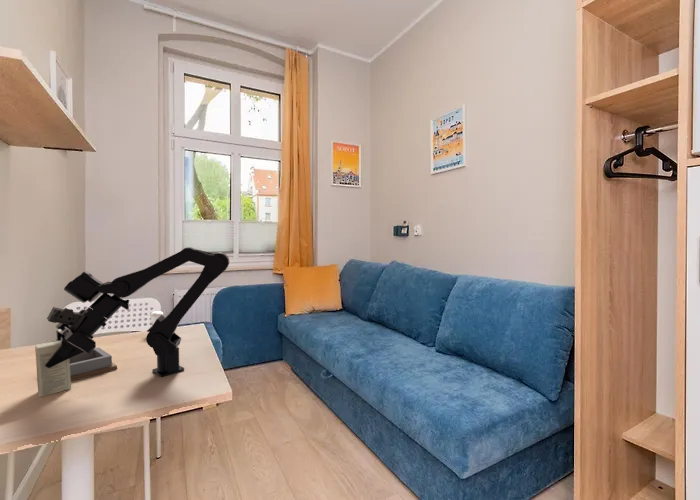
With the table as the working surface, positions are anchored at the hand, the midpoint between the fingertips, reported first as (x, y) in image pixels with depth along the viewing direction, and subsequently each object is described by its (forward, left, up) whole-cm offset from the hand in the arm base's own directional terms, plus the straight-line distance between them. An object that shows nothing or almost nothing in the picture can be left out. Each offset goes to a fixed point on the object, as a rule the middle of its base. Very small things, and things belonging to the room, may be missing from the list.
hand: (45, 364), depth 85 cm
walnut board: (+11, -9, -7) cm, 16 cm away
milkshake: (+33, -39, -7) cm, 52 cm away
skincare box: (0, -1, -7) cm, 7 cm away
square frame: (+11, -9, -6) cm, 16 cm away
